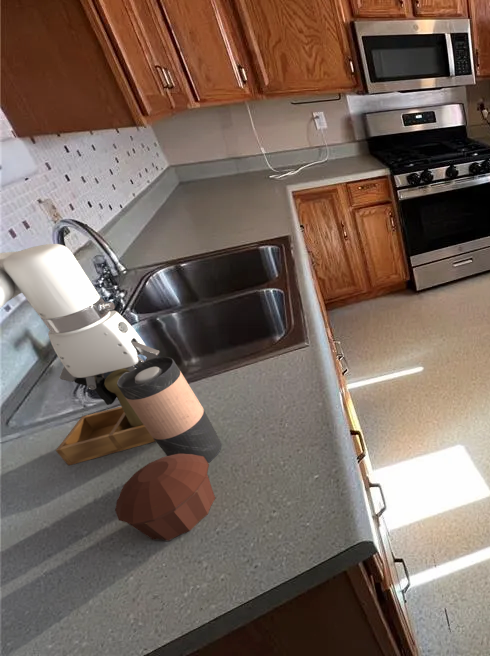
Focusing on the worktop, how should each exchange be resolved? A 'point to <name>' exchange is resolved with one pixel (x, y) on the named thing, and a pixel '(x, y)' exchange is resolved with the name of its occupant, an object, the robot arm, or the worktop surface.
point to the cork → (122, 397)
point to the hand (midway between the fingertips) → (131, 394)
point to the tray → (101, 436)
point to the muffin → (167, 496)
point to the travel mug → (169, 409)
